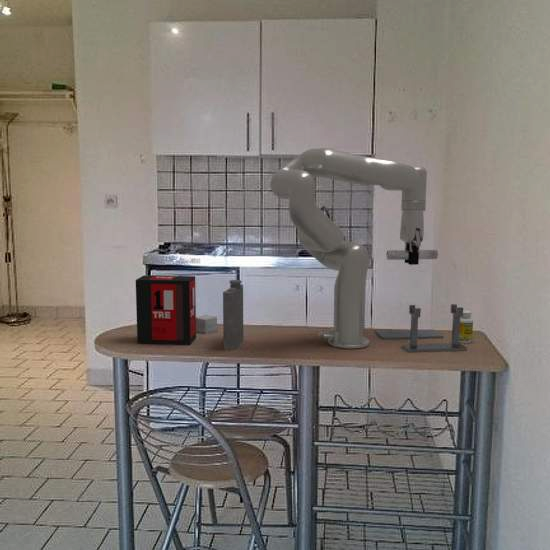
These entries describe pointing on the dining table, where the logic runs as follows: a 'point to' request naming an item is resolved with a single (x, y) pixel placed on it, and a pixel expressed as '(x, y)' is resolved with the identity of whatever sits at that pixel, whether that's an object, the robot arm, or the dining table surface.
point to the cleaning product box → (166, 310)
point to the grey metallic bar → (405, 254)
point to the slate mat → (407, 334)
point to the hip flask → (233, 316)
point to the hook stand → (452, 346)
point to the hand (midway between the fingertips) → (411, 263)
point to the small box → (206, 324)
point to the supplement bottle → (466, 327)
